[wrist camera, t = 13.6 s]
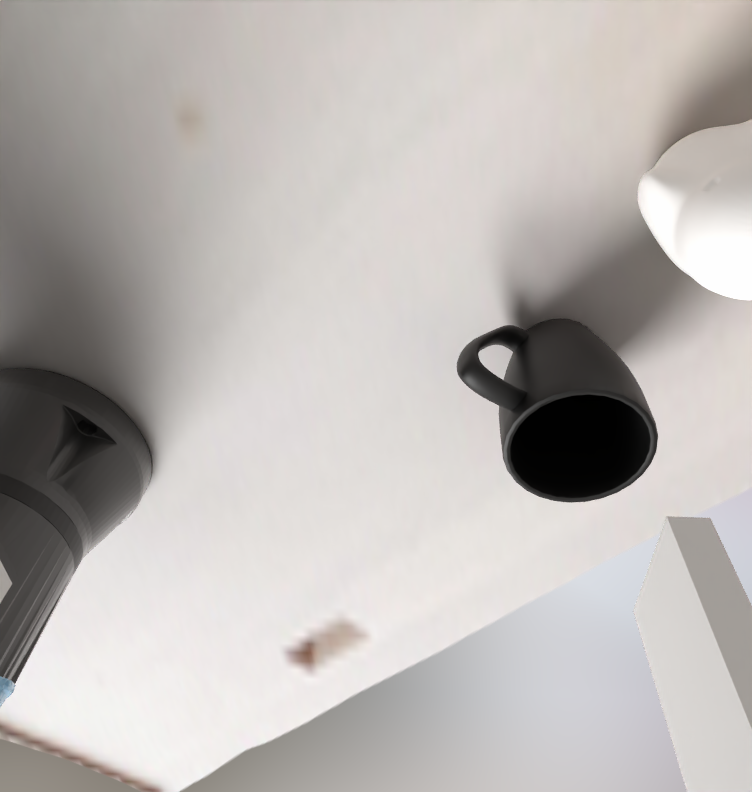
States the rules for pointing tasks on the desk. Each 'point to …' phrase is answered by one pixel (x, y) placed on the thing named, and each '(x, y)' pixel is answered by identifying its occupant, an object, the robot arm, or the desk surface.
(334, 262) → the desk surface
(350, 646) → the desk surface
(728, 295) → the figurine
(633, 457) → the mug
